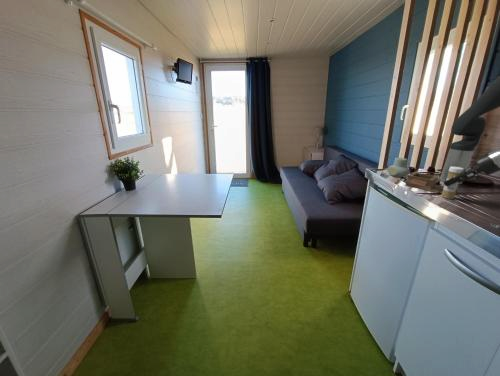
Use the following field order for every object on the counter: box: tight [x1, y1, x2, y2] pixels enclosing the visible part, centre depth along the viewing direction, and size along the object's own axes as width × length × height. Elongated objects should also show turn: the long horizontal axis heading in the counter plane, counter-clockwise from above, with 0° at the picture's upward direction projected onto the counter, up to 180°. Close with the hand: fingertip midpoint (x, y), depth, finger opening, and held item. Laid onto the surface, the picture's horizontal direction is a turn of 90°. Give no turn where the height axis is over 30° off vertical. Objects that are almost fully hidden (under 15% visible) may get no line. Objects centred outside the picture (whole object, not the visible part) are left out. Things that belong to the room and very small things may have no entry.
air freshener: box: [386, 157, 411, 178], centre depth 129 cm, size 11×8×10 cm
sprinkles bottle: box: [440, 167, 464, 200], centre depth 98 cm, size 5×5×14 cm
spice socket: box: [404, 171, 444, 194], centre depth 112 cm, size 12×13×5 cm
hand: (445, 183), depth 99 cm, fingers closed on sprinkles bottle, 4 cm apart
